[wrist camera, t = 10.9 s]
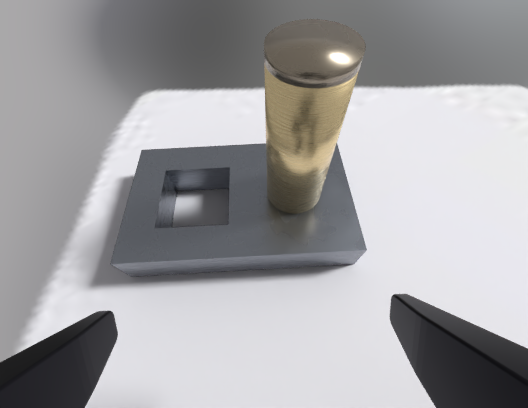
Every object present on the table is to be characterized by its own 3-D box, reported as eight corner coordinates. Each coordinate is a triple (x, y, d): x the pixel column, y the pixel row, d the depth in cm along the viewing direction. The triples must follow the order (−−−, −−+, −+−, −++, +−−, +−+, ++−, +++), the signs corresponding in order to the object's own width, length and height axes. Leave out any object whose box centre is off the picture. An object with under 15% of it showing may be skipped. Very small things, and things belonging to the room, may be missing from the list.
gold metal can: (324, 212, 21) (378, 68, 11) (268, 215, 21) (267, 74, 11) (315, 168, 24) (352, 17, 13) (265, 171, 24) (262, 21, 13)
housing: (353, 264, 23) (366, 249, 20) (131, 276, 22) (110, 264, 19) (329, 162, 29) (336, 139, 26) (155, 171, 29) (141, 149, 26)
